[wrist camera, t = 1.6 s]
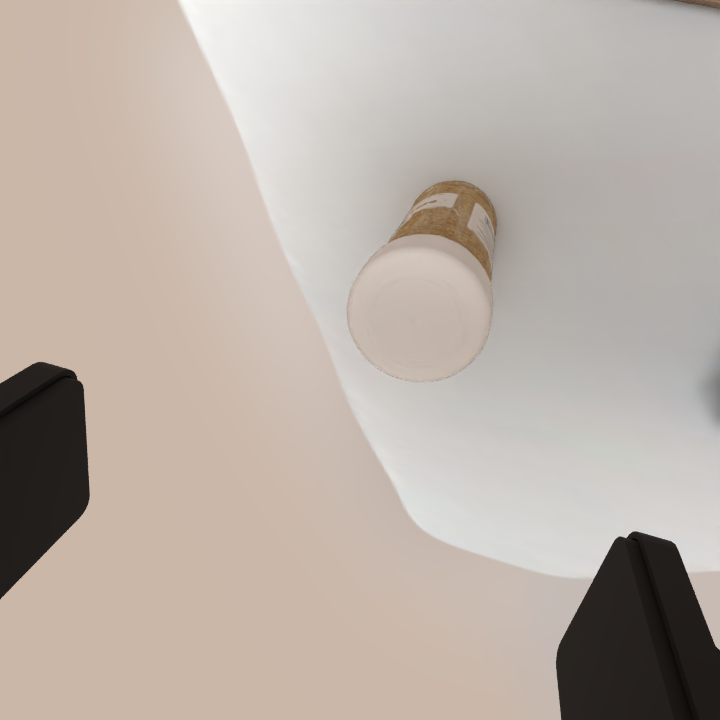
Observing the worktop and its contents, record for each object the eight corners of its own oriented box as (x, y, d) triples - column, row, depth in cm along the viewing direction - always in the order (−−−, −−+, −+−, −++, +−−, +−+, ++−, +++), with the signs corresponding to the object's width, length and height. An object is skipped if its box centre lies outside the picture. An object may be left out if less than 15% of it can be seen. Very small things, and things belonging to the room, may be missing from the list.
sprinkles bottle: (419, 170, 28) (357, 231, 17) (509, 191, 28) (511, 269, 16) (400, 257, 31) (332, 366, 19) (483, 278, 30) (468, 403, 18)
